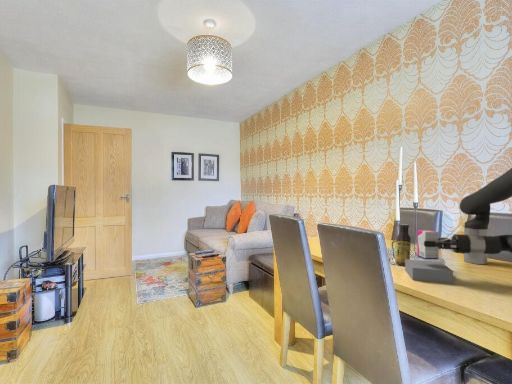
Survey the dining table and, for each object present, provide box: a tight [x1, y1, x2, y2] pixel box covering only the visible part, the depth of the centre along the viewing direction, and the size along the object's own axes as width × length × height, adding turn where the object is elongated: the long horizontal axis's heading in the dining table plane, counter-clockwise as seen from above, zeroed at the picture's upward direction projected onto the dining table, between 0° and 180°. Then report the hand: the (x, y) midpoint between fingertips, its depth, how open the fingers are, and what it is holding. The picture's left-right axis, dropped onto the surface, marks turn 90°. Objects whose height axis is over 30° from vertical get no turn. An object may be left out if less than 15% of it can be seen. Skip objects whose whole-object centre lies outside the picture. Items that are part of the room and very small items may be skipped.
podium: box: [404, 259, 454, 285], centre depth 115 cm, size 14×14×5 cm
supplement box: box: [416, 229, 440, 260], centre depth 115 cm, size 6×6×12 cm
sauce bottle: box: [394, 223, 412, 267], centre depth 133 cm, size 7×6×20 cm
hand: (421, 242), depth 116 cm, fingers closed on supplement box, 7 cm apart
